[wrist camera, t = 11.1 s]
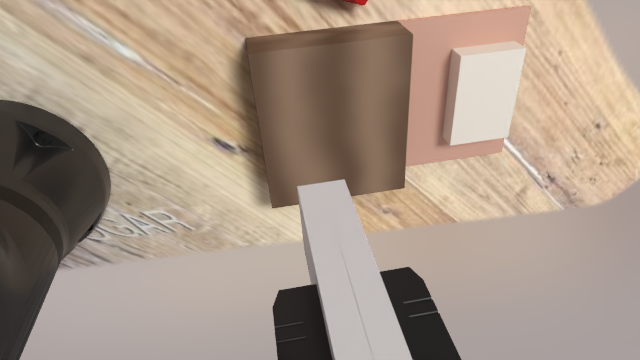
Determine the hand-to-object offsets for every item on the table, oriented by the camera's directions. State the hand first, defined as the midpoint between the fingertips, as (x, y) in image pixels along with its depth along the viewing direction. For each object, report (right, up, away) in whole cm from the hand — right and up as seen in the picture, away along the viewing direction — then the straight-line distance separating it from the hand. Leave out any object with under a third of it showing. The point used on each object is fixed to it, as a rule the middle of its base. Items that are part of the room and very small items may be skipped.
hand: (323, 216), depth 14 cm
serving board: (+1, +8, +27) cm, 28 cm away
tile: (+15, +9, +27) cm, 32 cm away
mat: (+13, +10, +29) cm, 33 cm away
